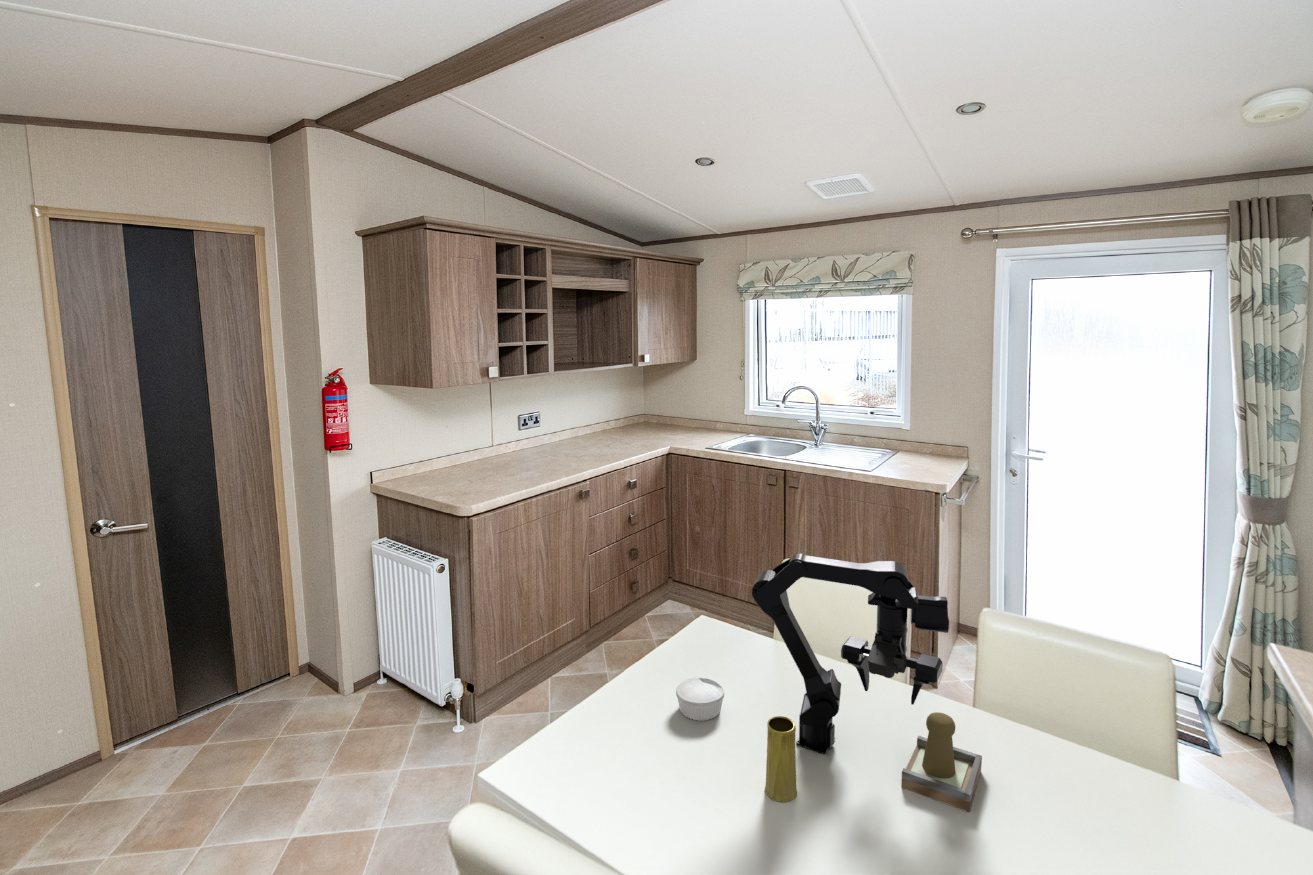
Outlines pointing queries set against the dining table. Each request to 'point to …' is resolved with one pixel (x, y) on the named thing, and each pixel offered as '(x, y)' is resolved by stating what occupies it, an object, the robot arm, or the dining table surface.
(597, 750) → the dining table surface
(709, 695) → the ramekin
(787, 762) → the vase
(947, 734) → the olive domed stopper
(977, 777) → the wooden tray
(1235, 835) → the dining table surface
